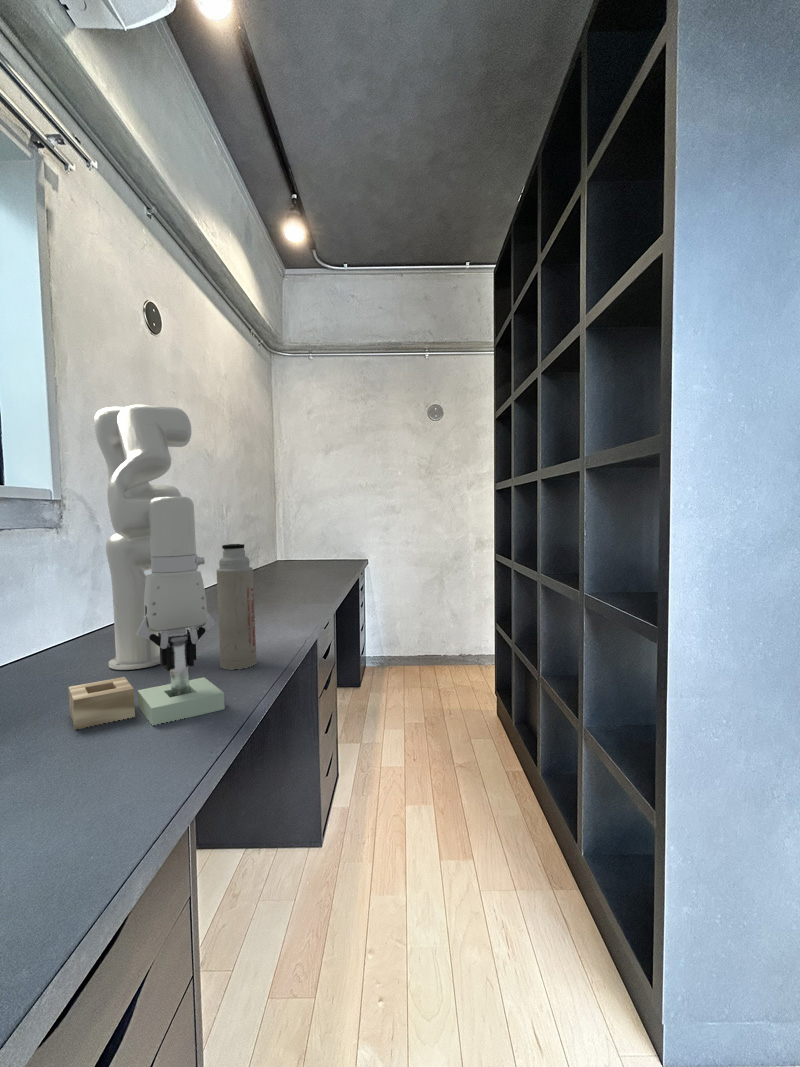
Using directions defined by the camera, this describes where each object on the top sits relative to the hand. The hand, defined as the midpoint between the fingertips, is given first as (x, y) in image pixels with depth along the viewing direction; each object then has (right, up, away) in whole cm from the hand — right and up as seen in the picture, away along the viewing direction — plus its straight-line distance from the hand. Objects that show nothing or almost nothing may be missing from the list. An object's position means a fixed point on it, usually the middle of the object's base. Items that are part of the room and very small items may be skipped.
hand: (178, 665), depth 99 cm
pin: (0, -7, 0) cm, 7 cm away
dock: (0, -8, 0) cm, 8 cm away
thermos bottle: (+3, -7, +28) cm, 29 cm away
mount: (-12, -8, -3) cm, 15 cm away
